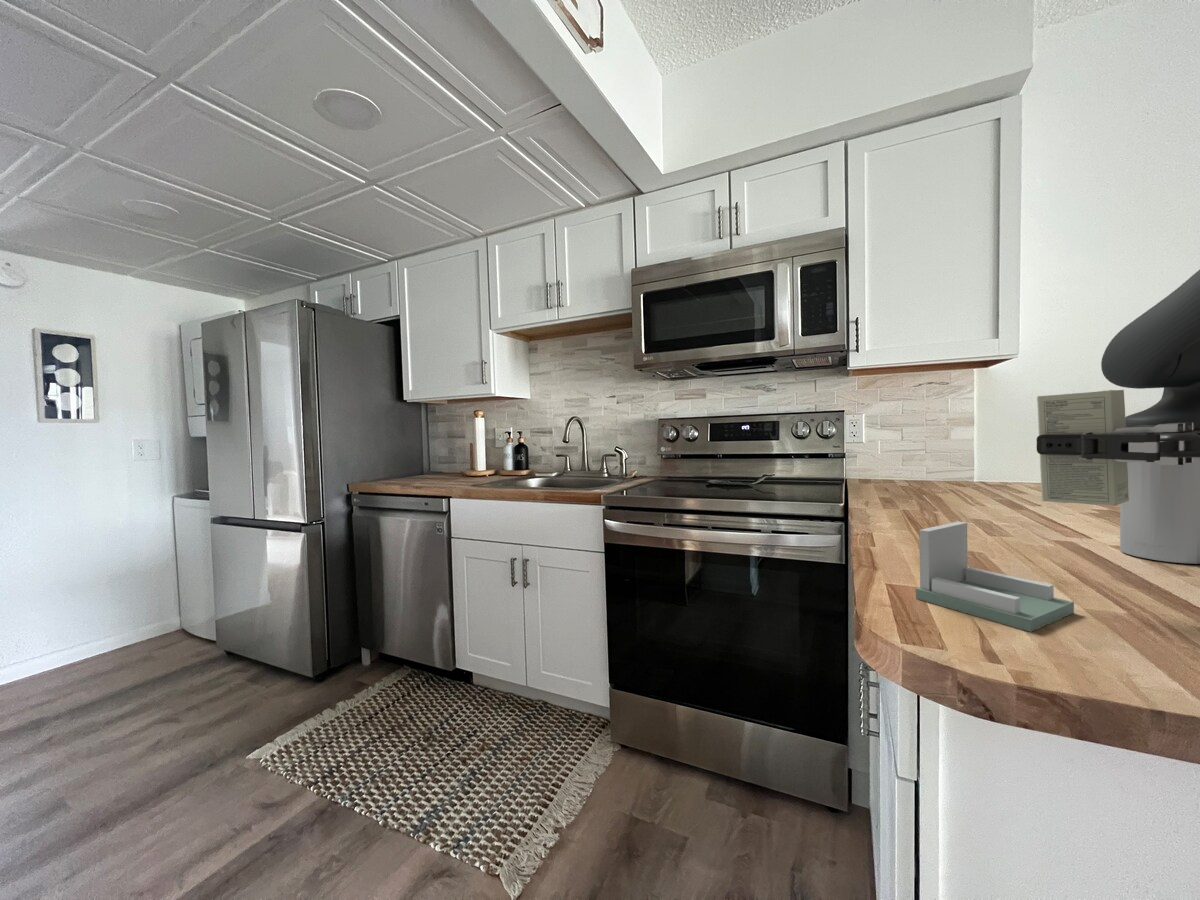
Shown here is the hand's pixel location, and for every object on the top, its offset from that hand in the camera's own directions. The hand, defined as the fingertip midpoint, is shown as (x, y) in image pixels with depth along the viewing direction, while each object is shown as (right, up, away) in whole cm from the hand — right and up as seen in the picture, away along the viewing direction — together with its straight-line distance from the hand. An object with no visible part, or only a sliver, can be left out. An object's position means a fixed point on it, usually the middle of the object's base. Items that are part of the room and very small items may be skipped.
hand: (1049, 443), depth 55 cm
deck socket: (-8, -18, -1) cm, 20 cm away
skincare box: (+2, -7, -2) cm, 7 cm away
